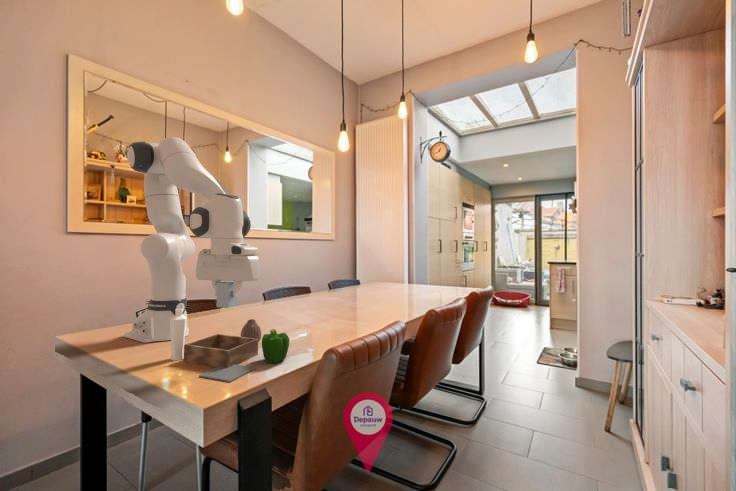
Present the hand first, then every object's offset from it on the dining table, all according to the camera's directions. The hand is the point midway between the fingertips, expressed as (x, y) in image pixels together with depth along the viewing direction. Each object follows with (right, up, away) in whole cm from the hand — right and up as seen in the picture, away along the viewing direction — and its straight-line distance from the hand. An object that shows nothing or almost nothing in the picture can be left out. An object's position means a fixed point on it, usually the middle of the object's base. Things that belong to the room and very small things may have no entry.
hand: (227, 296), depth 95 cm
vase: (-1, -21, +20) cm, 29 cm away
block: (0, -3, 0) cm, 3 cm away
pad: (+3, -20, -6) cm, 21 cm away
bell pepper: (+12, -21, +5) cm, 25 cm away
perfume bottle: (-17, -20, +5) cm, 27 cm away
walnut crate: (-4, -20, +6) cm, 21 cm away
